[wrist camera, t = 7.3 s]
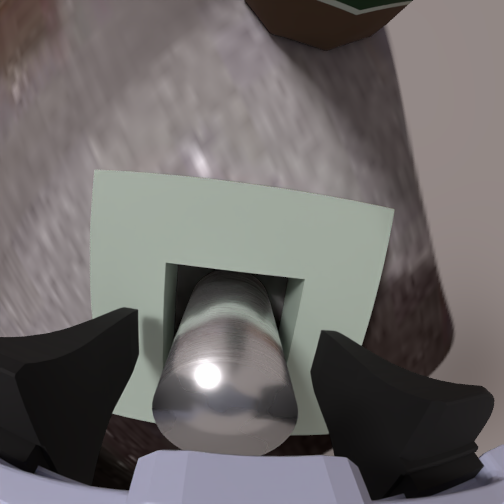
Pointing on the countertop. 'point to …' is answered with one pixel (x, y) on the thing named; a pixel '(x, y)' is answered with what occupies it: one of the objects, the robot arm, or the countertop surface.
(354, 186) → the countertop surface
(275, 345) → the steel peg
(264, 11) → the beer bottle
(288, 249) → the hole block
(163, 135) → the countertop surface
